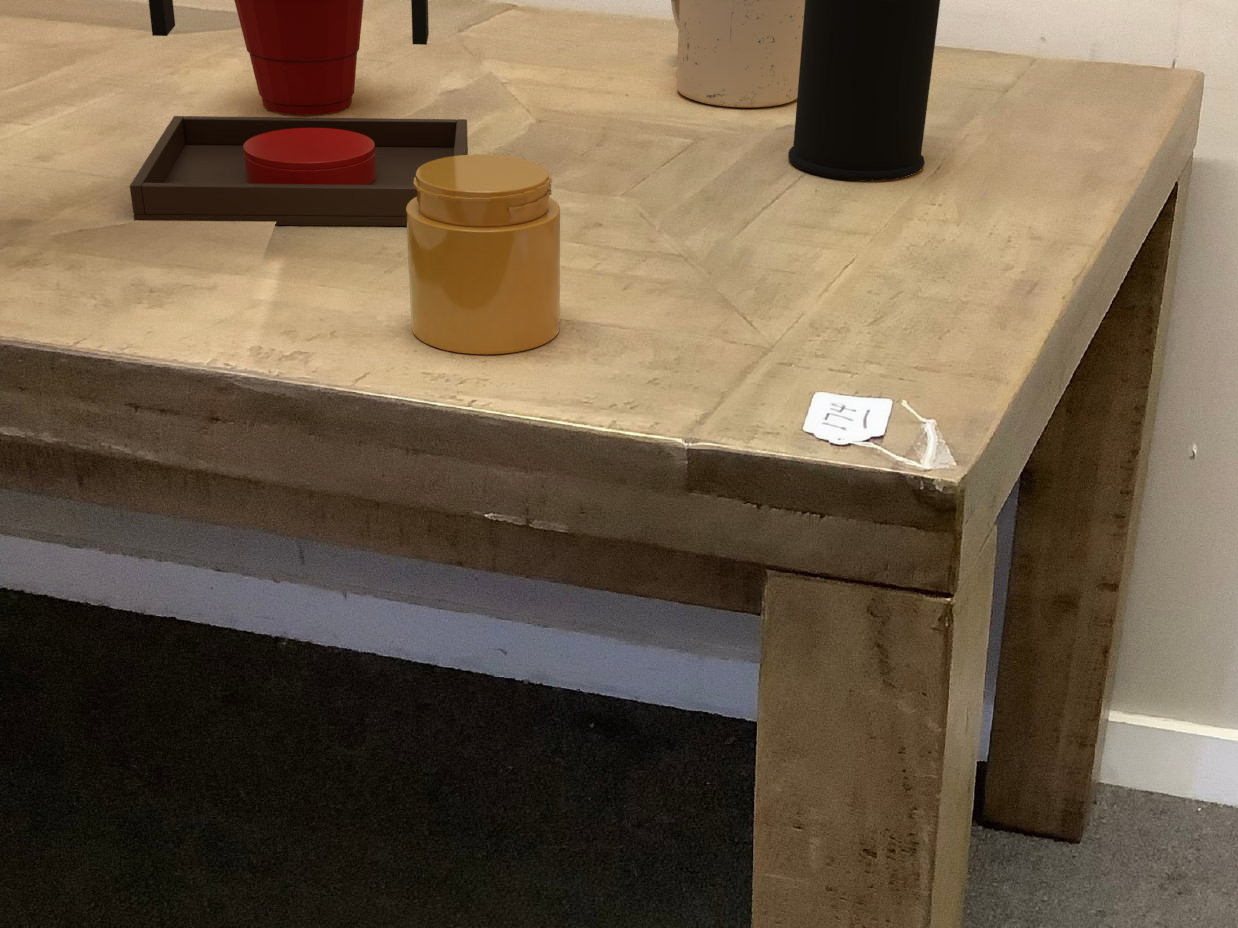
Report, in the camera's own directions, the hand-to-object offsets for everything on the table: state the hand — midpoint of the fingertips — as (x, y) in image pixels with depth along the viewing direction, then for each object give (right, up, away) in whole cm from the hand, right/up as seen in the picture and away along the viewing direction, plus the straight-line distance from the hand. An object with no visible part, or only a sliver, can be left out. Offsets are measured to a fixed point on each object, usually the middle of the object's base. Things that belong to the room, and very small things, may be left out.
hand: (293, 35), depth 90 cm
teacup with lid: (+25, +7, +26) cm, 37 cm away
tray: (0, -6, +5) cm, 8 cm away
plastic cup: (-3, +4, +19) cm, 20 cm away
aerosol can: (+32, -3, +12) cm, 34 cm away
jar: (+11, -19, -13) cm, 26 cm away
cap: (0, -5, +4) cm, 6 cm away
